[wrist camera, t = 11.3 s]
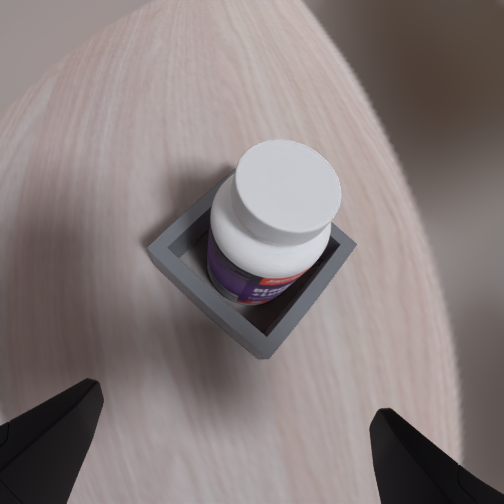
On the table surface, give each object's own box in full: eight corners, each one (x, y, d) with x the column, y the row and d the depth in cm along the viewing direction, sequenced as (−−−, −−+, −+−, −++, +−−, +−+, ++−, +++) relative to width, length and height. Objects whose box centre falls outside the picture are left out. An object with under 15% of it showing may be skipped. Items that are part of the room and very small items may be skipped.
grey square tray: (258, 359, 18) (268, 359, 15) (154, 265, 19) (146, 248, 16) (337, 260, 21) (356, 244, 18) (243, 181, 22) (250, 156, 19)
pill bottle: (248, 325, 18) (295, 287, 9) (189, 261, 19) (180, 170, 10) (306, 267, 20) (382, 193, 11) (250, 211, 21) (285, 107, 12)
